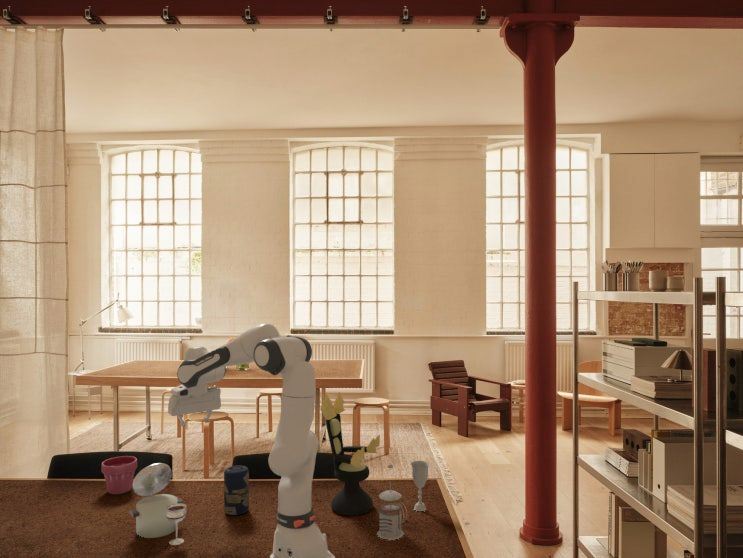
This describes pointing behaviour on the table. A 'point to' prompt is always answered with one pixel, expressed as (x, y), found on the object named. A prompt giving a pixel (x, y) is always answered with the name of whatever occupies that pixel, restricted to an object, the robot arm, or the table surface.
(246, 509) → the canister
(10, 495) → the table surface
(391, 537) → the french press
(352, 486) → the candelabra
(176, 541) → the wineglass
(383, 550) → the table surface
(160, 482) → the lid
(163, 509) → the pot
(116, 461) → the plant pot
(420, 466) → the chalice
